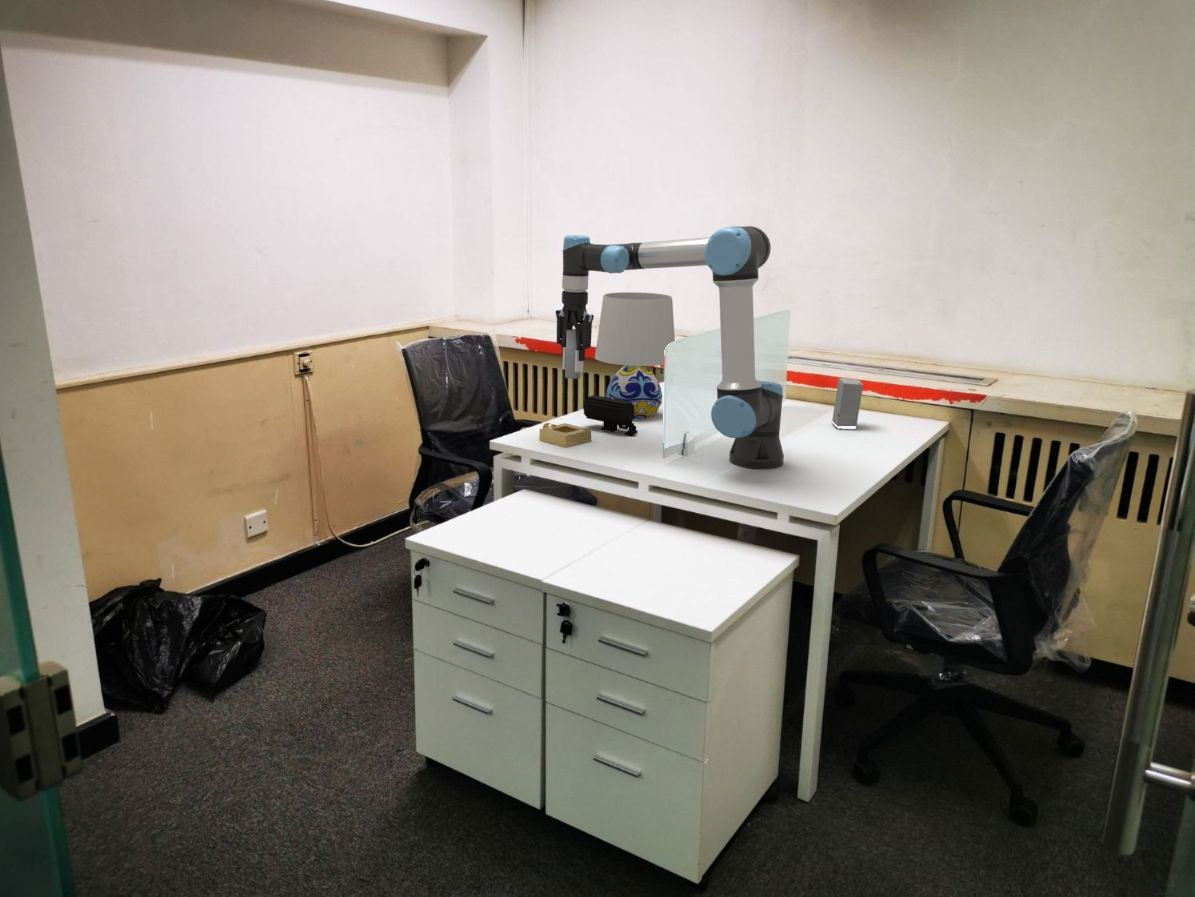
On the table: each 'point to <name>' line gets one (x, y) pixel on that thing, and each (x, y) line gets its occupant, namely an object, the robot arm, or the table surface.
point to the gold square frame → (564, 434)
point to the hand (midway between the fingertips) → (572, 370)
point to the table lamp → (635, 346)
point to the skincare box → (847, 402)
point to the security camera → (611, 413)
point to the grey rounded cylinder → (571, 355)
